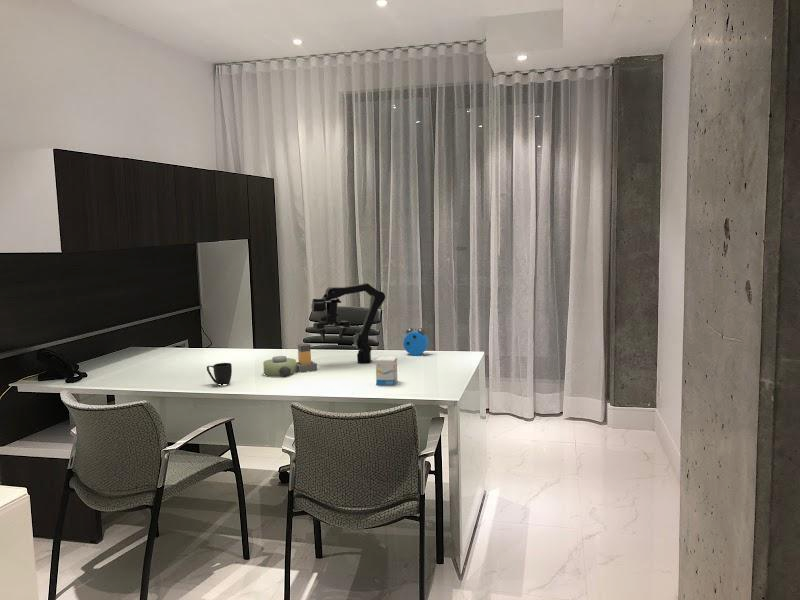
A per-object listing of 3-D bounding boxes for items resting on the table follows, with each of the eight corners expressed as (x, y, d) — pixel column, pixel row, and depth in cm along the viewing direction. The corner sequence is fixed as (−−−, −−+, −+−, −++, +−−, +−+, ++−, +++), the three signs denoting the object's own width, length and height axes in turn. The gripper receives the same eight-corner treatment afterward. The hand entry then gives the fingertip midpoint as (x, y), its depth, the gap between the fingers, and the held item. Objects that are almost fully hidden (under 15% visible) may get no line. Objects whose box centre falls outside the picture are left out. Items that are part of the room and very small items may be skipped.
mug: (213, 381, 311) (211, 362, 310) (235, 382, 308) (234, 362, 307) (203, 386, 303) (202, 366, 302) (227, 386, 300) (225, 366, 299)
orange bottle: (308, 368, 334) (307, 343, 332) (311, 370, 329) (310, 345, 328) (299, 369, 332) (297, 344, 330) (301, 371, 327) (300, 346, 326)
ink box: (394, 385, 293) (393, 360, 291) (376, 385, 294) (375, 359, 293) (398, 381, 301) (397, 356, 300) (380, 380, 303) (379, 356, 302)
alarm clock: (429, 353, 362) (428, 327, 360) (426, 356, 356) (425, 329, 354) (406, 353, 366) (405, 327, 364) (403, 355, 360) (402, 328, 358)
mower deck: (308, 365, 342) (307, 350, 341) (320, 372, 324) (319, 356, 323) (259, 371, 330) (258, 355, 330) (269, 379, 313) (268, 362, 312)
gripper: (341, 309, 348) (341, 337, 349) (309, 310, 339) (309, 340, 340) (350, 311, 338) (350, 340, 340) (317, 313, 329) (317, 343, 331)
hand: (331, 341), depth 338 cm, fingers open, 9 cm apart
